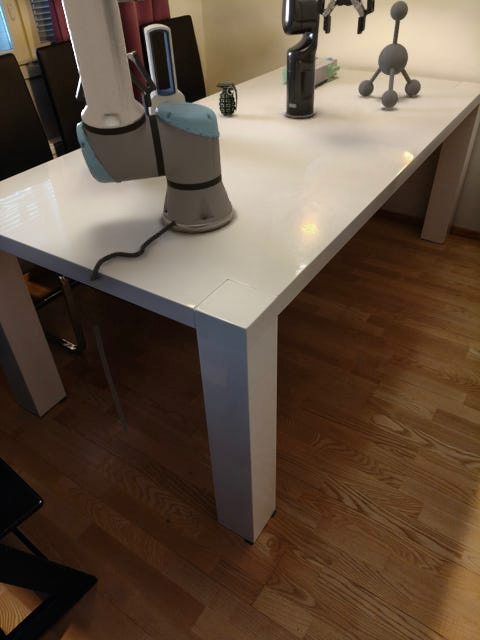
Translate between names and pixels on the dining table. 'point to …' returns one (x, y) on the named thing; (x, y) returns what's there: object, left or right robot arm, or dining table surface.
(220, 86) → the grenade
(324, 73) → the grey device with connectors
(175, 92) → the electronic device
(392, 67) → the molecular model
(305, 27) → the right robot arm
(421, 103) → the dining table surface
